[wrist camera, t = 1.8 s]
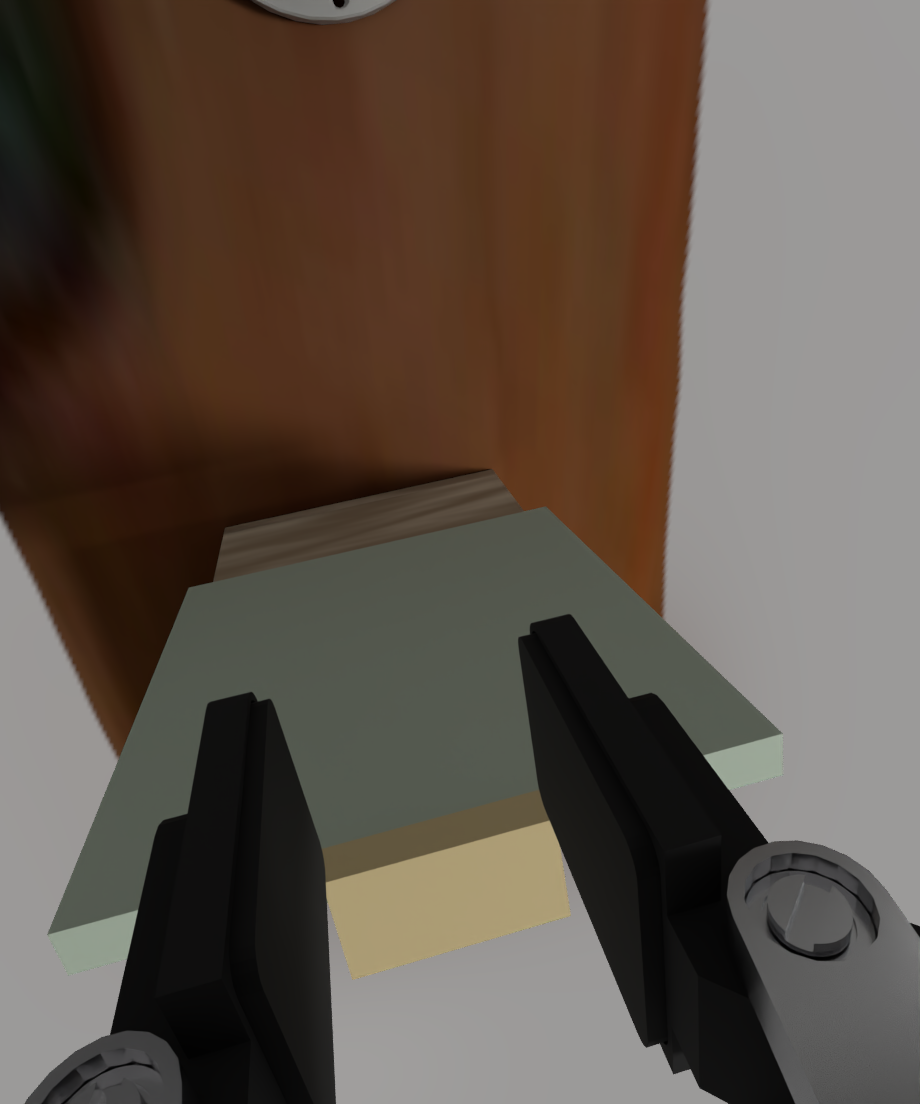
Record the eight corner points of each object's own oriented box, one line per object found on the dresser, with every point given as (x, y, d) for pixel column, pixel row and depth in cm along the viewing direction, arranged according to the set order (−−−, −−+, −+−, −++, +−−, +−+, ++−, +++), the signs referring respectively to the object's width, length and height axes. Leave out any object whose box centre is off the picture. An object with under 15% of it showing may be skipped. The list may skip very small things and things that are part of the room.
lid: (206, 638, 34) (187, 583, 33) (552, 557, 36) (545, 502, 35) (79, 1060, 15) (28, 965, 14) (806, 846, 17) (806, 748, 16)
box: (224, 527, 42) (206, 612, 34) (492, 469, 44) (541, 534, 35) (302, 763, 51) (303, 881, 42) (525, 705, 52) (573, 807, 43)
